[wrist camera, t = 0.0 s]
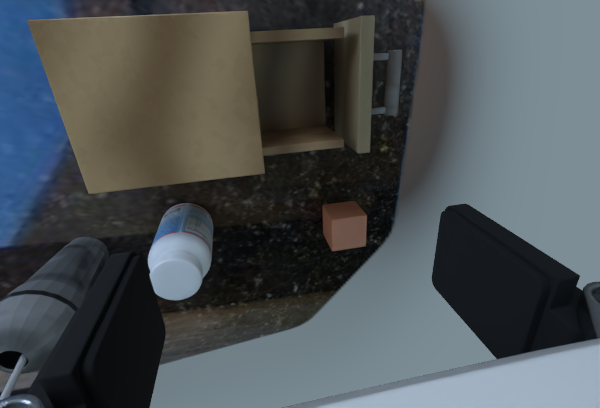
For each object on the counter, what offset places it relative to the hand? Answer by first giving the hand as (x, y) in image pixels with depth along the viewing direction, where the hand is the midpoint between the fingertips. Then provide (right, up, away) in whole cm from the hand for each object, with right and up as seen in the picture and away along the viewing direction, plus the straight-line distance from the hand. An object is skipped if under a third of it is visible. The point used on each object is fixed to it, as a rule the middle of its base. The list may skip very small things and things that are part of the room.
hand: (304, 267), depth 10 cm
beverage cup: (-25, -4, +29) cm, 39 cm away
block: (+5, 0, +34) cm, 34 cm away
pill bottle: (-14, 0, +30) cm, 33 cm away
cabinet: (-13, +13, +24) cm, 30 cm away
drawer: (0, +15, +25) cm, 29 cm away
